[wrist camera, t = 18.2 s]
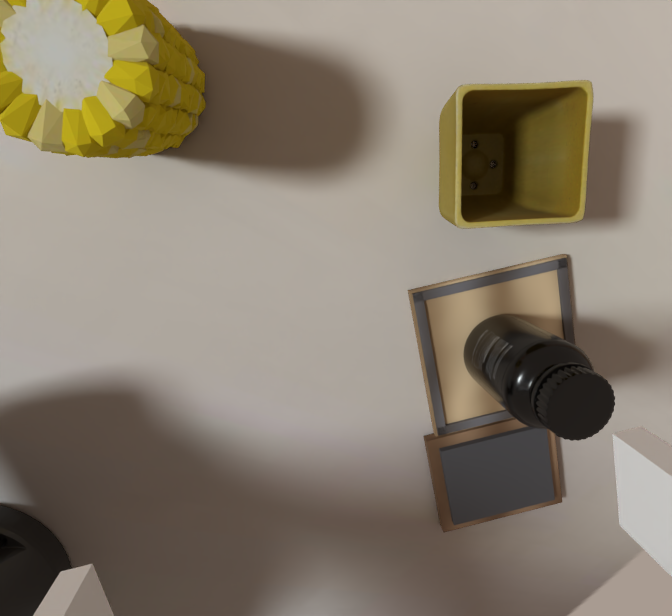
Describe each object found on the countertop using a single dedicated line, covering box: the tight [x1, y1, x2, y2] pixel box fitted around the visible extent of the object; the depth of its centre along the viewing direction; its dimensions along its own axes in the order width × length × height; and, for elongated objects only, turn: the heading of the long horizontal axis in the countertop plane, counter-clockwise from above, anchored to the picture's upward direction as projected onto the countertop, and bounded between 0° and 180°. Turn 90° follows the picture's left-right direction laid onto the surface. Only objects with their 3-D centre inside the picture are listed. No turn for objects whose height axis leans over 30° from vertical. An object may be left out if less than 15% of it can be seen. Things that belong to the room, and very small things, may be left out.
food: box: [0, 0, 206, 158], centre depth 28 cm, size 15×12×10 cm
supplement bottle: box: [463, 315, 615, 440], centre depth 35 cm, size 7×7×12 cm
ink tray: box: [424, 417, 562, 532], centre depth 44 cm, size 12×10×1 cm
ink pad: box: [439, 426, 555, 525], centre depth 43 cm, size 10×8×1 cm
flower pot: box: [439, 80, 593, 229], centre depth 34 cm, size 9×9×9 cm
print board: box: [408, 254, 575, 436], centre depth 41 cm, size 14×14×1 cm
